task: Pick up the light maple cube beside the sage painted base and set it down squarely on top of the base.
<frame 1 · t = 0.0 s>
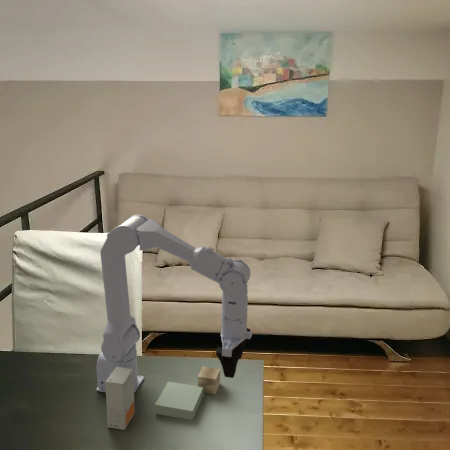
hand: (233, 367, 117), 10 cm above the table, tool pointing down, fingers open, 7 cm apart
sage base: (179, 404, 119), on the table
maple cube: (209, 388, 125), on the table
skincare box: (121, 421, 114), on the table
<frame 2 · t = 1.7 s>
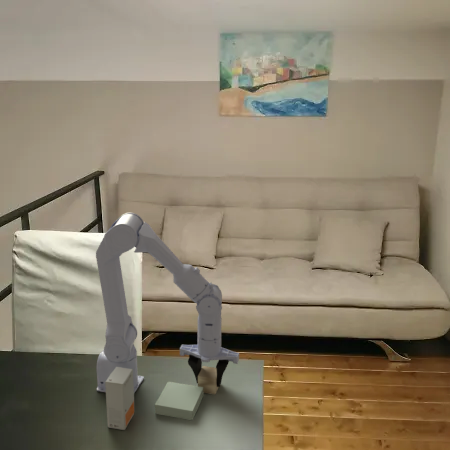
hand: (209, 382, 125), 1 cm above the table, tool pointing down, fingers closed on maple cube, 4 cm apart
maple cube: (209, 387, 125), on the table, touching gripper
everything else where it was.
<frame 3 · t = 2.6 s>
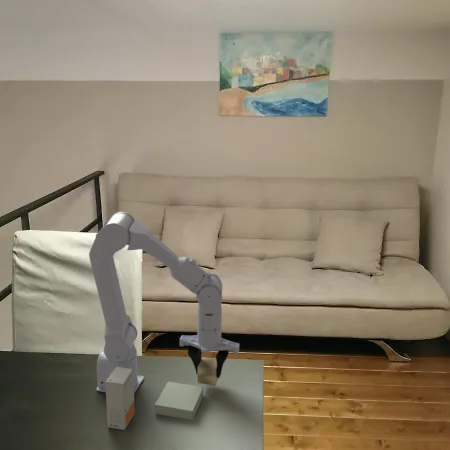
hand: (208, 373, 124), 4 cm above the table, tool pointing down, fingers closed on maple cube, 4 cm apart
maple cube: (208, 379, 125), point 3 cm above the table, touching gripper
everything else where it was.
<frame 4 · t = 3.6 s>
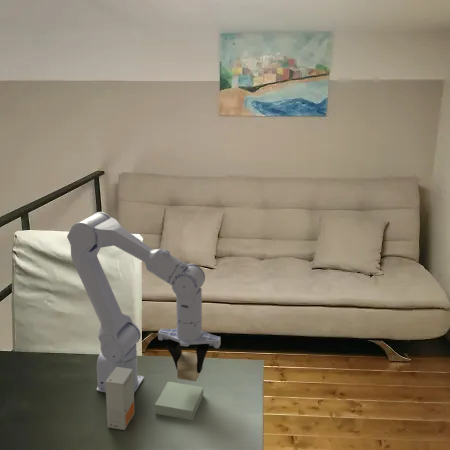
hand: (189, 369, 119), 8 cm above the table, tool pointing down, fingers closed on maple cube, 4 cm apart
maple cube: (189, 374, 119), point 7 cm above the table, touching gripper
everything else where it was.
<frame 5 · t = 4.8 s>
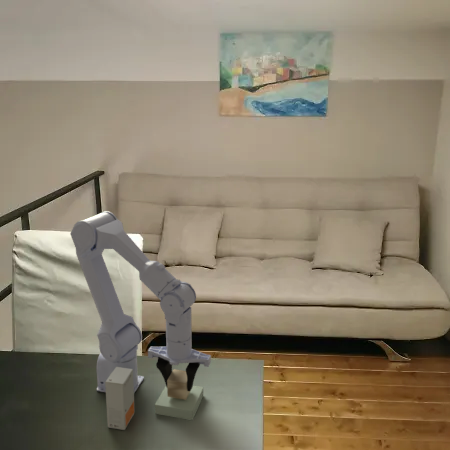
hand: (179, 387, 118), 5 cm above the table, tool pointing down, fingers closed on maple cube, 4 cm apart
maple cube: (179, 392, 118), point 3 cm above the table, touching gripper
everything else where it was.
when the fingers open (5 cm above the table, at t = 5.6 s): maple cube stays where it is, resting on sage base.
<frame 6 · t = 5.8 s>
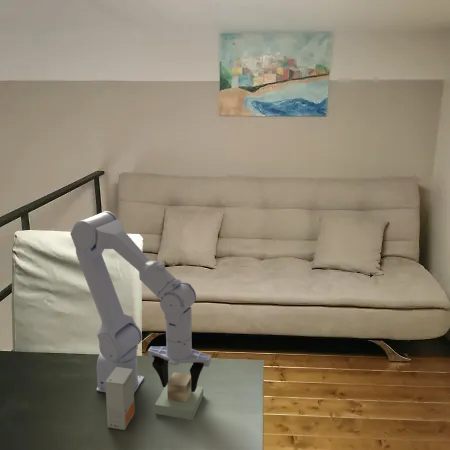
hand: (179, 387, 118), 5 cm above the table, tool pointing down, fingers open, 6 cm apart
maple cube: (179, 395, 118), point 2 cm above the table, touching sage base
everything else where it was.
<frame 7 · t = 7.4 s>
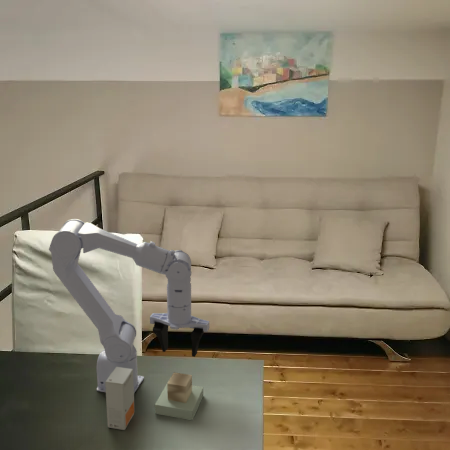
hand: (179, 352, 124), 9 cm above the table, tool pointing down, fingers open, 7 cm apart
nothing on the table moved.
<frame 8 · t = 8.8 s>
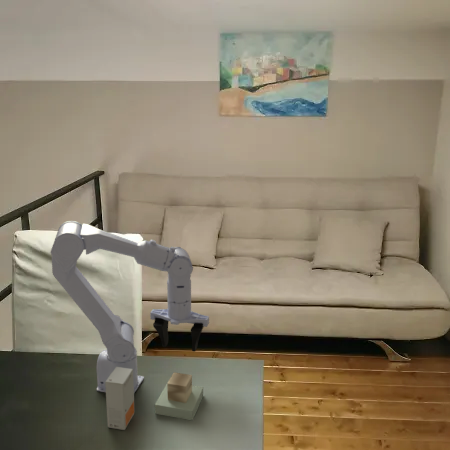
hand: (179, 347, 126), 9 cm above the table, tool pointing down, fingers open, 7 cm apart
nothing on the table moved.
at the end: maple cube 0.1 cm off-centre on the sage base, point 2.5 cm above the sage base's base; maple cube tilted 0°; the gripper is holding nothing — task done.
